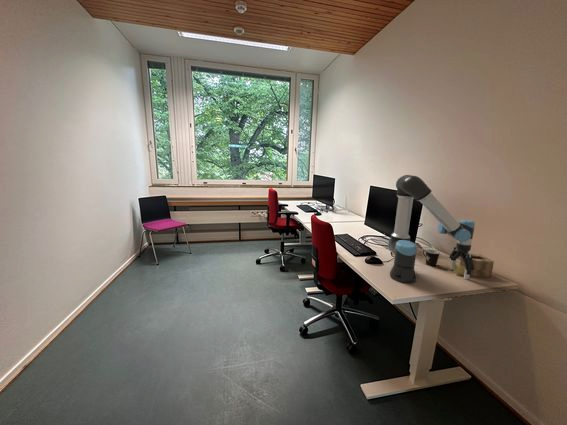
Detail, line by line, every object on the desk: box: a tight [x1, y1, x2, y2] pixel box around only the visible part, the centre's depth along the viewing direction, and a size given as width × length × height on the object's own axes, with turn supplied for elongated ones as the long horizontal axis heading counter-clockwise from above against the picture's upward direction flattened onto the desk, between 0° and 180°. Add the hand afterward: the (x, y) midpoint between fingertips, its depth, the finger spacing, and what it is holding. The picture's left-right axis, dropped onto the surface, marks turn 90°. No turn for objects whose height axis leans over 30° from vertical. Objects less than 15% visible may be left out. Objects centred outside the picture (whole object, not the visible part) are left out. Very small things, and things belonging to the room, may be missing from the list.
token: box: [453, 264, 466, 276], centre depth 154 cm, size 5×3×6 cm, turn 86°
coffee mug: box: [422, 249, 440, 267], centre depth 170 cm, size 12×9×10 cm
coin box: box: [459, 253, 495, 278], centre depth 156 cm, size 12×12×11 cm
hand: (459, 273), depth 155 cm, fingers open, 13 cm apart
